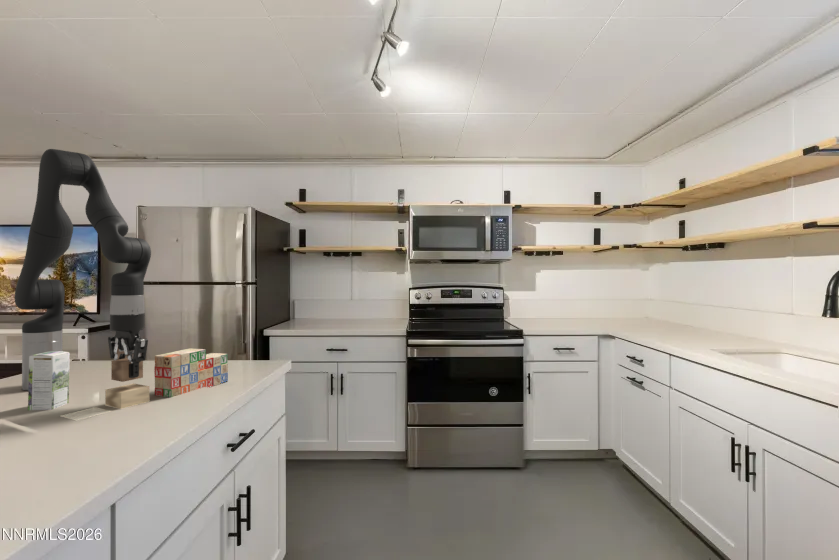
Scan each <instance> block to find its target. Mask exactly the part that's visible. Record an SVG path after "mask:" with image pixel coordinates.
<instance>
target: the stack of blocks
mask: <svg viewBox="0 0 839 560" xmlns="http://www.w3.org/2000/svg"><path fill="white" fill-rule="evenodd" d="M206 352H207V351H206V349H205V348H204V349H203V348H192V347H191V348H186V349H181V350H176V351H172V352H166V353H162V354H155V355H154V369H153V371H154V396H158V397H167V398H174V397H177V396H180V395H185V394H186V393H191V392H193V391H196V390H199V389H202V388H208V387H209V388H211V387H210V386H212V387H215V386H218V385H221V384H220V383H222V384H224V383H223V382H225V383H227V382H228V381H229V380H228V379H229V366H228V365H229V363H228V361H229V360H228V353H220V352H218V353H217V352H215V353H214V352H210V353H206ZM226 381H227V382H226ZM217 384H218V385H217ZM214 385H215V386H214Z"/></svg>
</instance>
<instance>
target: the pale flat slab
mask: <svg viewBox="0 0 839 560" xmlns="http://www.w3.org/2000/svg"><path fill="white" fill-rule="evenodd" d="M149 402H151V400H149V401H148V402H144V403H141V404H137V405H142V404H145V403H149ZM137 405H133V406H129V407H125V408H122V409H121V408H117V407H112V406H108V405H105V404H104V406H105V407H110V408H114V409H119V410H123V409H126V408H131V407H135V406H137ZM112 412H113V410H109V409H104V408H101V407H96V406H93V407H89V408H86V409H83V410H78V411H74V412H69V413H66V414H61V415H60V417H61V418H65V419H68V420H71V421H75V422H77V421H81V420H85V419H89V418H93V417H97V416H100V415H105V414H108V413H112Z"/></svg>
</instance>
